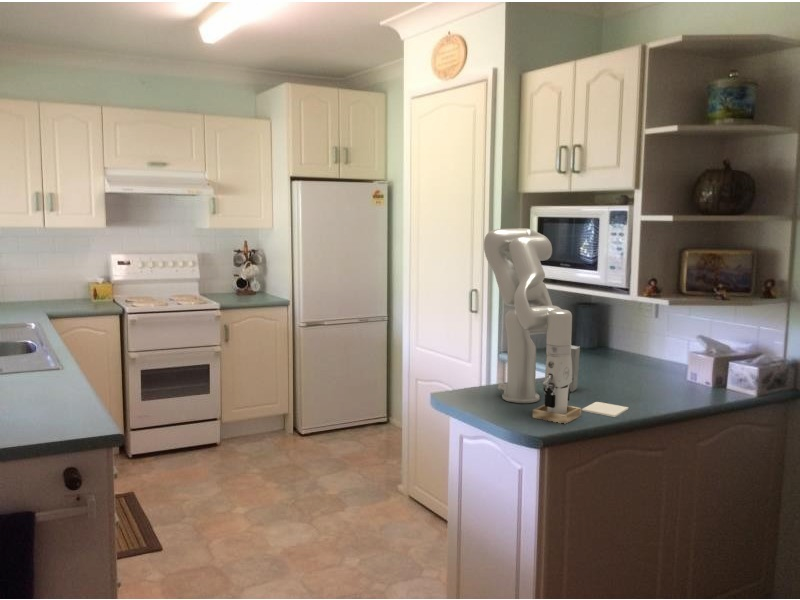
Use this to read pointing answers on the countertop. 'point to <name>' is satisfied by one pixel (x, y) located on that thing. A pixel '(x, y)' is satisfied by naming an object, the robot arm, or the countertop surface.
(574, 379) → the skincare box
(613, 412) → the coaster
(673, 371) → the countertop surface
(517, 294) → the robot arm
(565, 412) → the drinking glass
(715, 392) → the countertop surface
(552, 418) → the wooden frame
